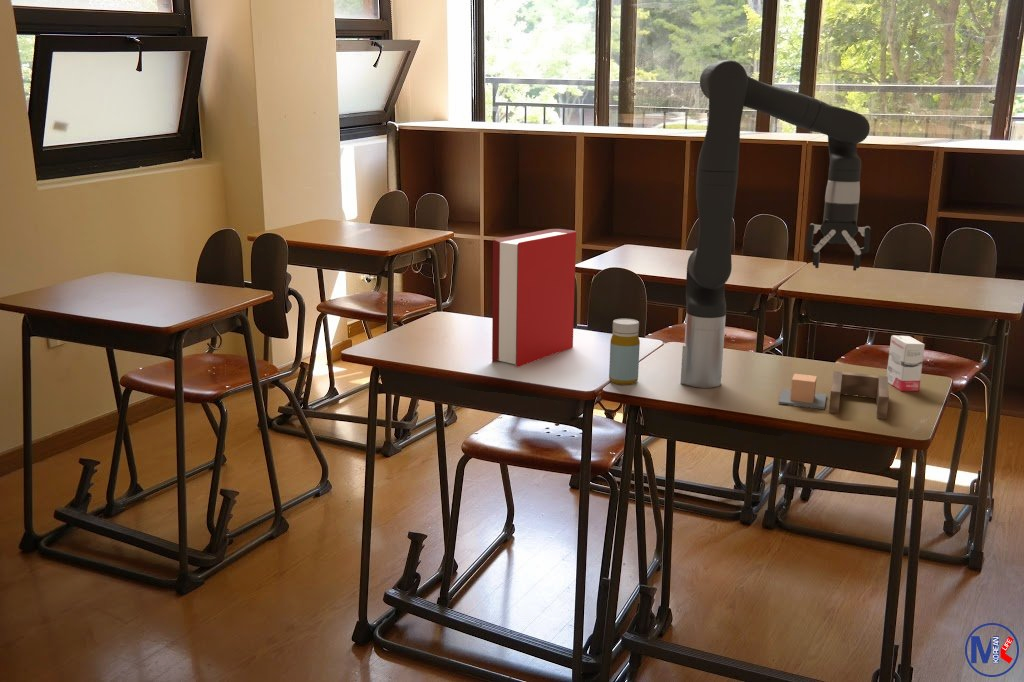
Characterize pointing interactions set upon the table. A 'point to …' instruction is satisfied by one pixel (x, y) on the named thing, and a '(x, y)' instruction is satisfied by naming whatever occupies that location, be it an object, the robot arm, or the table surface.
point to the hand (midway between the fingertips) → (835, 268)
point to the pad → (817, 403)
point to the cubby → (860, 390)
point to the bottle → (624, 352)
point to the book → (533, 295)
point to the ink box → (905, 363)
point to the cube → (803, 388)
